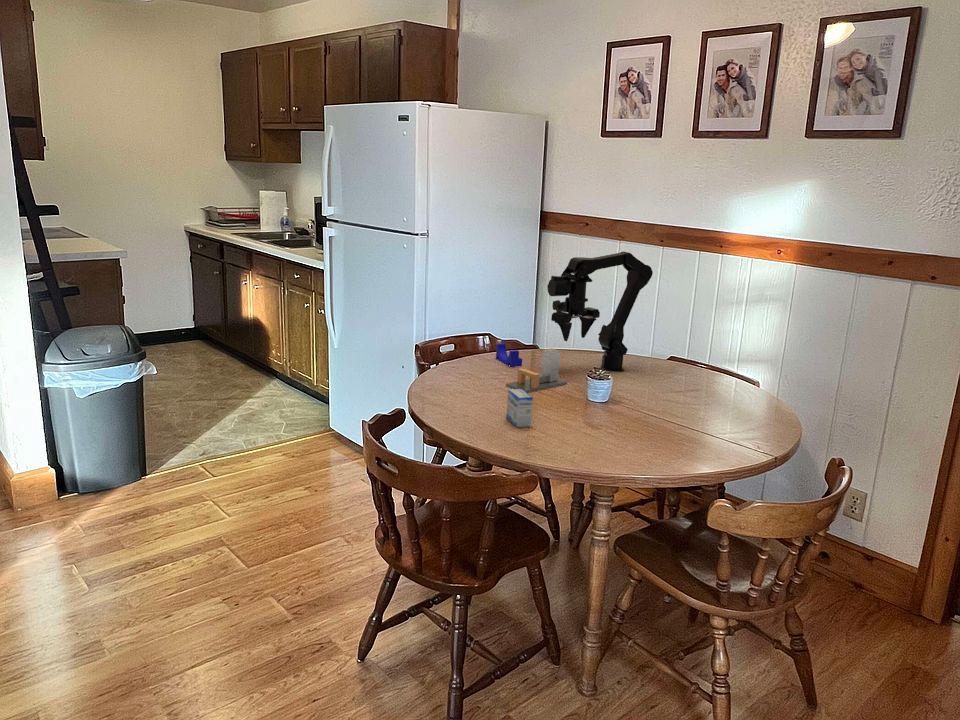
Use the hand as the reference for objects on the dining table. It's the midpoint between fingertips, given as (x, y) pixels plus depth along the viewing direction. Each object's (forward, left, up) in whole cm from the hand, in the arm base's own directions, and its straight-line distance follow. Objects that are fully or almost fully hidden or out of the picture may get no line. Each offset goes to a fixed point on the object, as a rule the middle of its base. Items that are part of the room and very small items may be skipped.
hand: (574, 339), depth 260 cm
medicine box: (+31, +50, -12) cm, 60 cm away
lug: (+20, +17, -11) cm, 29 cm away
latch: (+14, +14, -11) cm, 22 cm away
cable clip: (+20, -13, -12) cm, 27 cm away
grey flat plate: (+17, +15, -12) cm, 25 cm away
